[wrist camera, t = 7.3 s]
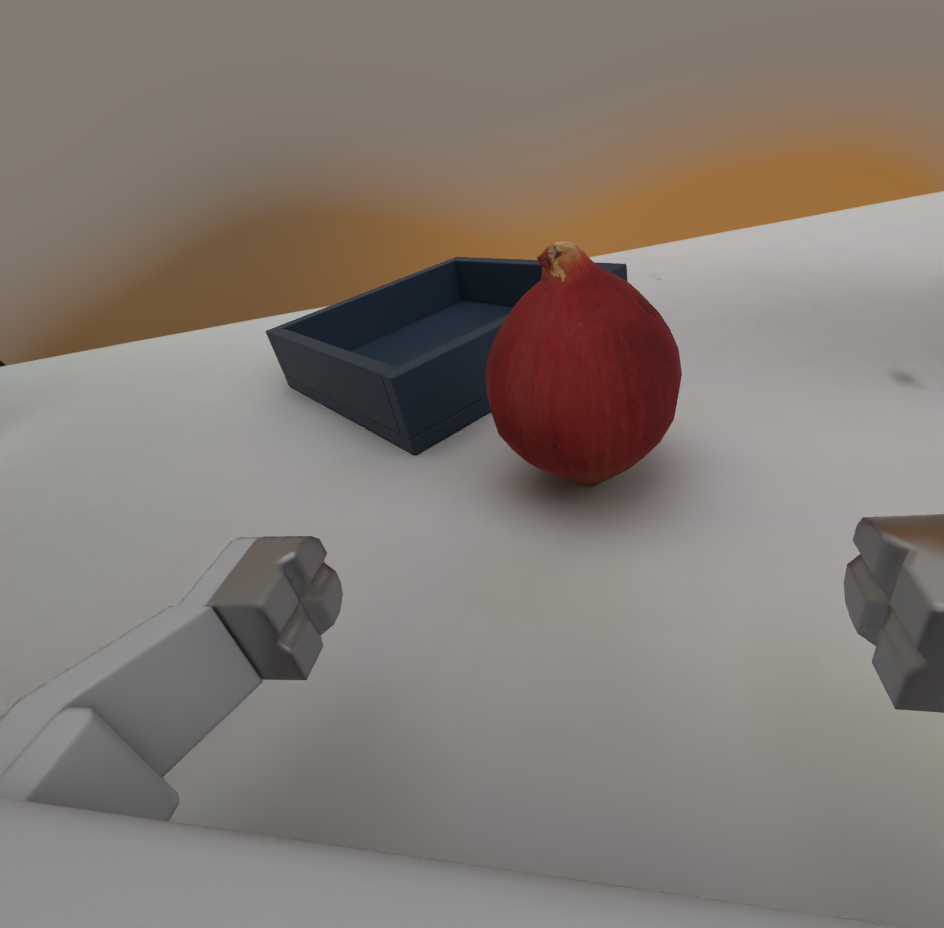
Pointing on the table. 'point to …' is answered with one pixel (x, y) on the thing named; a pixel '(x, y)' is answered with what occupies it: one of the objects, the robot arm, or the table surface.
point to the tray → (409, 348)
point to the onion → (582, 371)
